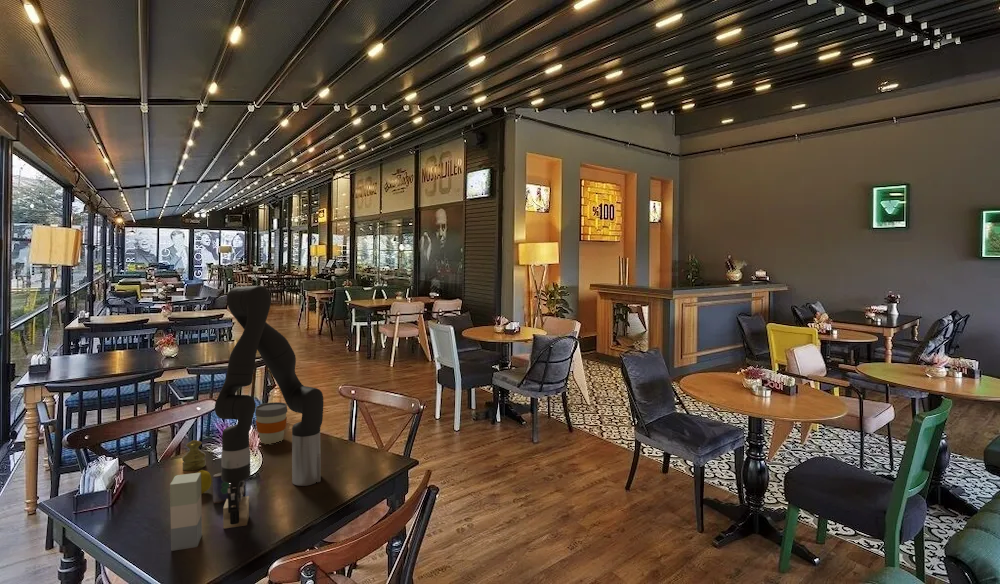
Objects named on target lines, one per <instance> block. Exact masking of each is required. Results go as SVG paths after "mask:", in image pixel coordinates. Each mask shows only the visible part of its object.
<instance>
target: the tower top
mask: <svg viewBox="0 0 1000 584" xmlns="http://www.w3.org/2000/svg"><path fill="white" fill-rule="evenodd" d="M169 488H170V489H169V497H170V498H169V499H170V501H169V503H170V505H169V506H170V507H173V506H181V505H188V504H196V503H197V502H198V500H199V497H200V495H201V496H202V494H201V473H197V472H195V473H185V474H176V475H175V476H174V477H173V479H172V481H171V482H170V483H169Z"/></svg>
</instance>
